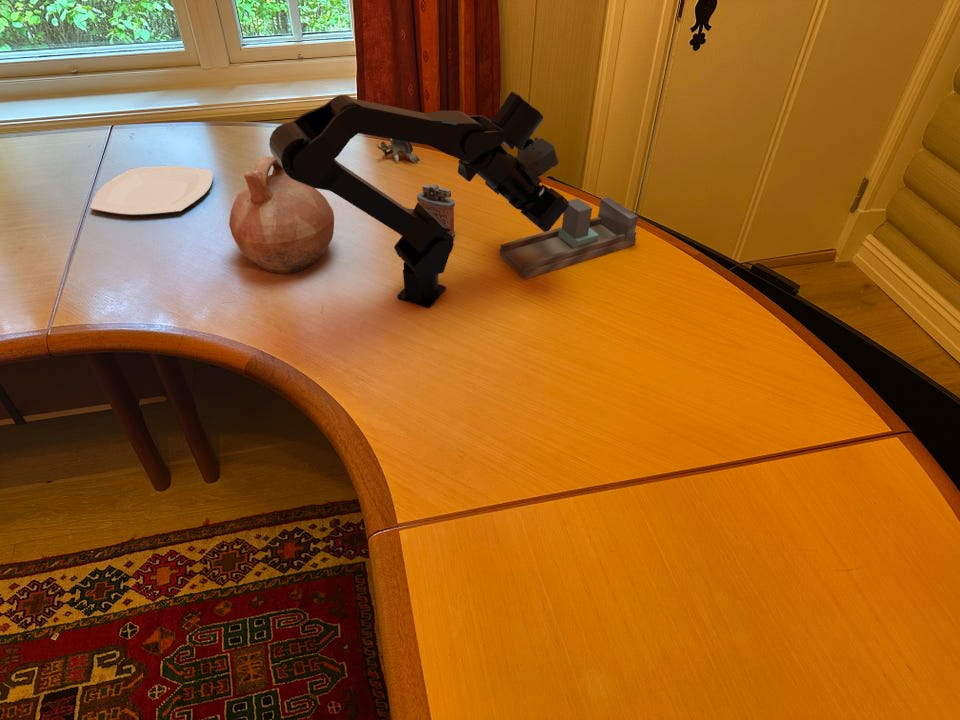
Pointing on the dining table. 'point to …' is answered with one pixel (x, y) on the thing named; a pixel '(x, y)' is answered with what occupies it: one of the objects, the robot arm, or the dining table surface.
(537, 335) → the dining table surface
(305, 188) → the jug
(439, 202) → the lighter
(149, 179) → the plate
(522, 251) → the rail
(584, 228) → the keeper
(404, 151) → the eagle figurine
